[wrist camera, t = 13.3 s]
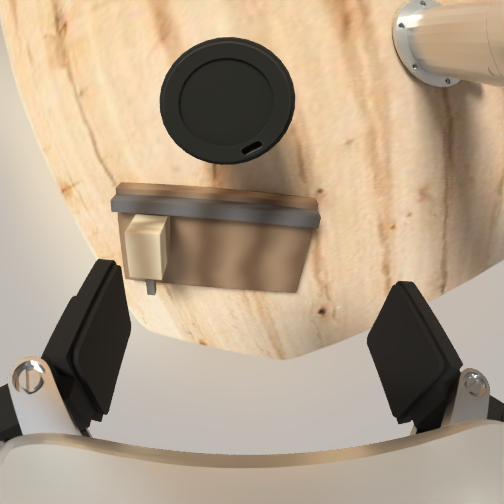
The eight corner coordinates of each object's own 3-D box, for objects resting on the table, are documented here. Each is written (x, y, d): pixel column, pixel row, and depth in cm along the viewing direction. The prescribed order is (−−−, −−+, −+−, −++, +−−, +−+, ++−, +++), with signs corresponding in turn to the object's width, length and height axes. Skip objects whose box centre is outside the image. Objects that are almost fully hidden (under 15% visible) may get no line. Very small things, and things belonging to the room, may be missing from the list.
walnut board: (314, 198, 39) (322, 211, 35) (294, 283, 46) (298, 301, 43) (121, 182, 36) (110, 194, 33) (129, 270, 43) (121, 287, 40)
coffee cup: (249, 37, 27) (257, 10, 15) (289, 109, 32) (323, 133, 20) (172, 78, 30) (127, 83, 17) (214, 147, 34) (199, 195, 22)
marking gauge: (170, 210, 36) (159, 235, 31) (171, 276, 42) (163, 305, 37) (139, 208, 36) (124, 232, 31) (144, 273, 41) (133, 302, 36)
